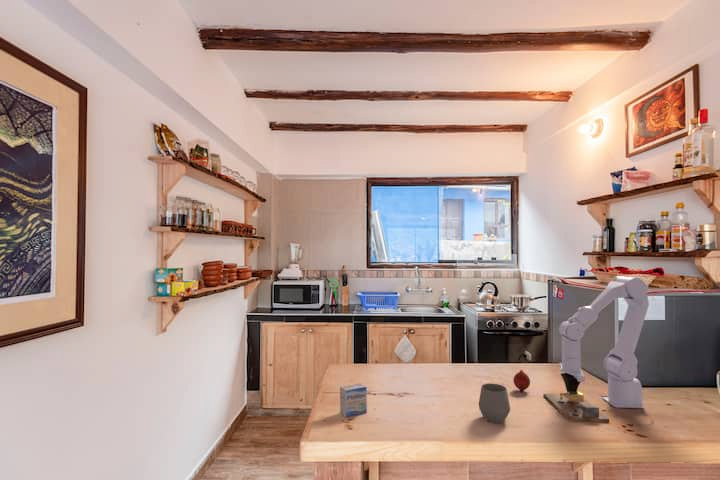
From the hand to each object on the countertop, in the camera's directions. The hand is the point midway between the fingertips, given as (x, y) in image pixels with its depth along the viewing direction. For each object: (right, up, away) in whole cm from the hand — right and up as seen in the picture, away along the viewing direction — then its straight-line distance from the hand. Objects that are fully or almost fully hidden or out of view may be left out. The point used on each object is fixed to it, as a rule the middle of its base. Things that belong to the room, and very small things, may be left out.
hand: (571, 395), depth 136 cm
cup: (-31, -3, -13) cm, 34 cm away
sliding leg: (-2, -1, -3) cm, 3 cm away
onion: (-13, -3, +11) cm, 17 cm away
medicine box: (-76, -3, -8) cm, 77 cm away
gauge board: (-2, -2, -5) cm, 6 cm away
